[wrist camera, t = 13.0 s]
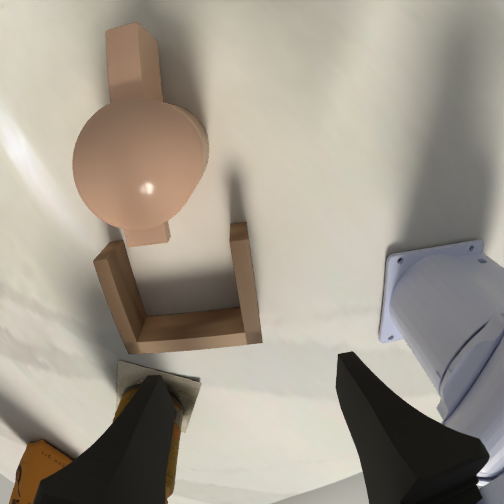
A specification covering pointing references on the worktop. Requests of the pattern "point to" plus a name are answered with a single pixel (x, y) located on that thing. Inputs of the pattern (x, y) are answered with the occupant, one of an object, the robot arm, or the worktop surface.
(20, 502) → the coffee package
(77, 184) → the cylinder with bar handle
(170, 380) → the condiment
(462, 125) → the worktop surface
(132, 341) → the cradle
